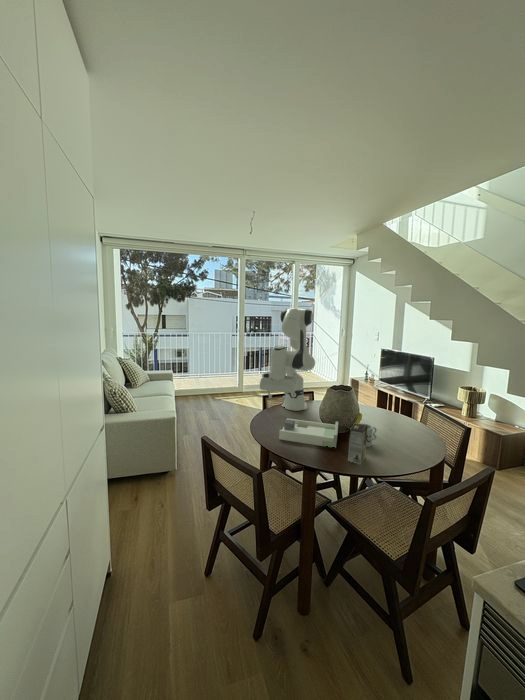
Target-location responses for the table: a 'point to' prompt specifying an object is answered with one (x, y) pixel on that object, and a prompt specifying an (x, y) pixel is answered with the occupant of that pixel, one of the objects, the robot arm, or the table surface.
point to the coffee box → (357, 443)
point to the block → (289, 424)
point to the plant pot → (358, 419)
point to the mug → (369, 434)
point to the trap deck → (311, 433)
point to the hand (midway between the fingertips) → (276, 398)
